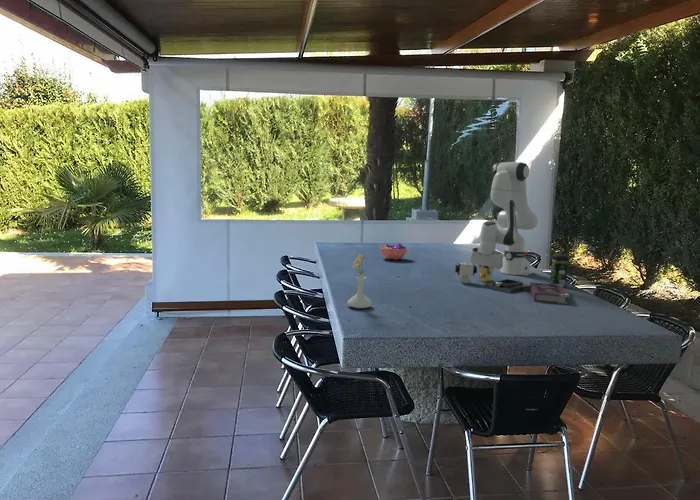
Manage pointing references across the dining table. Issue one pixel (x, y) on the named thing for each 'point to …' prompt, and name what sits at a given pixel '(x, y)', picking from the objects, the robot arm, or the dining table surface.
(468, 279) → the pneumatic valve
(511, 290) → the plate
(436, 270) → the dining table surface
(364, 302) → the flower in vase
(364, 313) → the dining table surface
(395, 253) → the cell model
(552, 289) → the book
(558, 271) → the coffee jar
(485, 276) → the brass valve
